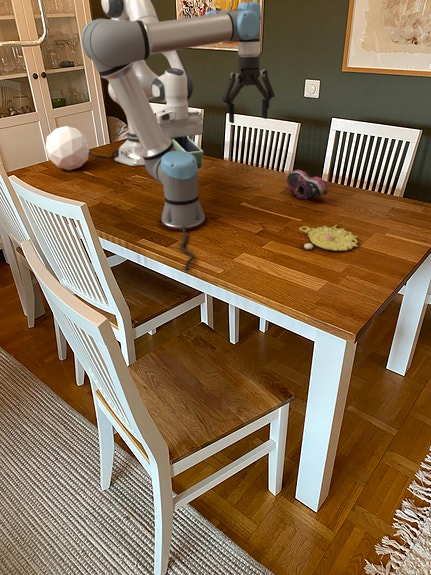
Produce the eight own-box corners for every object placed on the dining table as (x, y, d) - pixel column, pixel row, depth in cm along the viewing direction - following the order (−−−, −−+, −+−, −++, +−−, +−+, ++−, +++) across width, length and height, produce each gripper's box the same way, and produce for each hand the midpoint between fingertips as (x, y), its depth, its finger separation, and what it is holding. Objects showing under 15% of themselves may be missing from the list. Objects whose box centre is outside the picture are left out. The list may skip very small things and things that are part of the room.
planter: (204, 169, 172) (204, 150, 168) (186, 171, 170) (185, 152, 166) (185, 150, 194) (185, 133, 190) (169, 152, 192) (168, 135, 188)
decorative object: (343, 255, 128) (285, 234, 139) (342, 262, 130) (284, 241, 140) (372, 230, 142) (317, 213, 152) (371, 237, 143) (316, 219, 153)
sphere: (76, 185, 212) (61, 159, 193) (47, 165, 217) (29, 138, 198) (102, 157, 217) (90, 130, 198) (73, 138, 221) (58, 110, 203)
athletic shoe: (296, 169, 182) (271, 176, 178) (328, 163, 162) (302, 171, 158) (301, 196, 185) (277, 204, 181) (334, 193, 165) (308, 202, 161)
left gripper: (199, 109, 185) (201, 142, 193) (151, 113, 180) (155, 147, 188) (204, 112, 180) (205, 146, 188) (155, 116, 175) (158, 151, 183)
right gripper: (275, 52, 159) (272, 114, 170) (211, 57, 151) (213, 122, 162) (286, 54, 153) (282, 118, 164) (220, 59, 145) (221, 126, 156)
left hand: (179, 147), depth 188 cm, fingers closed on planter, 6 cm apart
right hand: (248, 120), depth 163 cm, fingers open, 13 cm apart
